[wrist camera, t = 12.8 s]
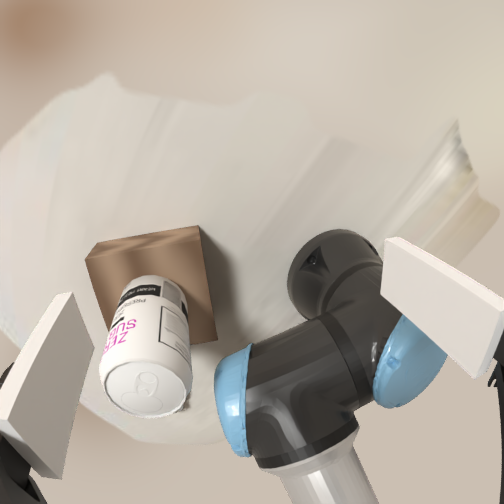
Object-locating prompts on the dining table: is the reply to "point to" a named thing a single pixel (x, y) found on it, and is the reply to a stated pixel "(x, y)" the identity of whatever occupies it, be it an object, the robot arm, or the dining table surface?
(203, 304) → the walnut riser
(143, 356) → the supplement can
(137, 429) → the dining table surface
